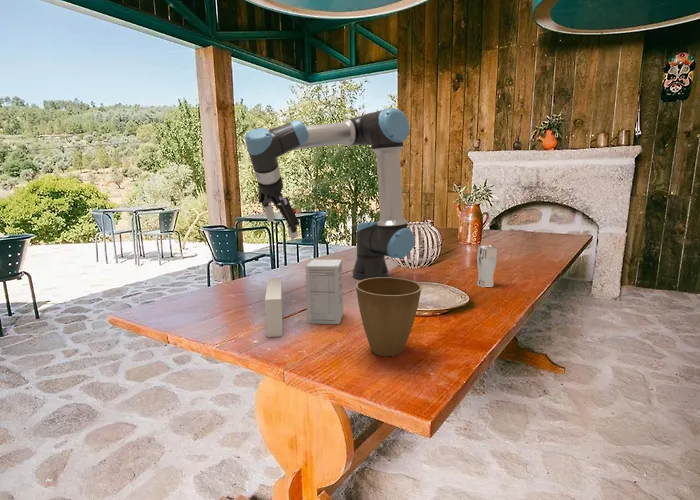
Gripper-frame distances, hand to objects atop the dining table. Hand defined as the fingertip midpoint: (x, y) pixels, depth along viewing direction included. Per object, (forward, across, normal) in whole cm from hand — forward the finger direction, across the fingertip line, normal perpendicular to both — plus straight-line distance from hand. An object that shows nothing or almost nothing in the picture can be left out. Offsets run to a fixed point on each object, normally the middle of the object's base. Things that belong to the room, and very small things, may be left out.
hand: (282, 228), depth 135 cm
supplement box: (+4, +37, -12) cm, 39 cm away
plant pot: (-7, +61, -12) cm, 63 cm away
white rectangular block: (+2, +29, -24) cm, 38 cm away
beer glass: (+29, +55, +49) cm, 79 cm away
